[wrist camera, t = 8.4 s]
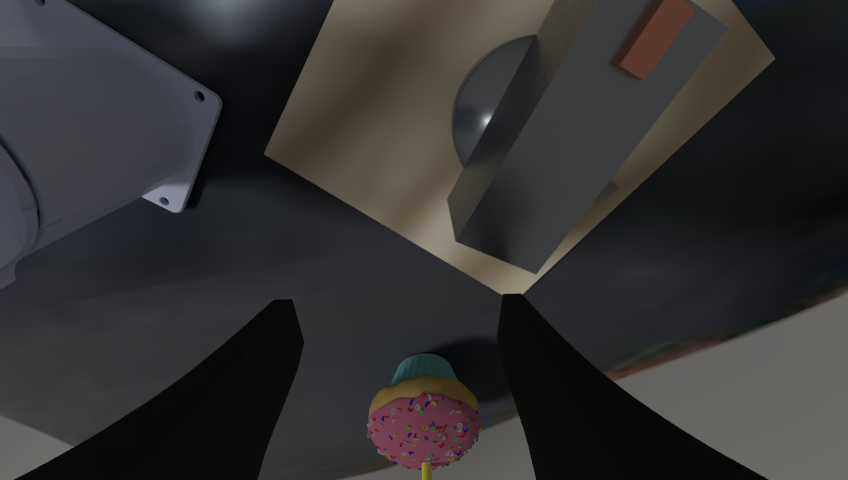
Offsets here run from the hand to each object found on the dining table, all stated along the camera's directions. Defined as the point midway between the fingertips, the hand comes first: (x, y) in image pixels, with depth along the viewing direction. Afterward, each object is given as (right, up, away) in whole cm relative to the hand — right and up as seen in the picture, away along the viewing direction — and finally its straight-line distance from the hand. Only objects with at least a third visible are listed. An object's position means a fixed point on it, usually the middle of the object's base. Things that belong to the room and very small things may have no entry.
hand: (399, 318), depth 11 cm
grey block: (+5, +8, +2) cm, 9 cm away
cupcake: (+1, -9, +17) cm, 19 cm away
